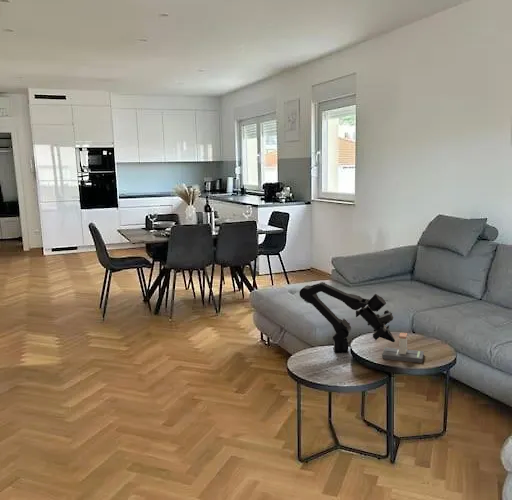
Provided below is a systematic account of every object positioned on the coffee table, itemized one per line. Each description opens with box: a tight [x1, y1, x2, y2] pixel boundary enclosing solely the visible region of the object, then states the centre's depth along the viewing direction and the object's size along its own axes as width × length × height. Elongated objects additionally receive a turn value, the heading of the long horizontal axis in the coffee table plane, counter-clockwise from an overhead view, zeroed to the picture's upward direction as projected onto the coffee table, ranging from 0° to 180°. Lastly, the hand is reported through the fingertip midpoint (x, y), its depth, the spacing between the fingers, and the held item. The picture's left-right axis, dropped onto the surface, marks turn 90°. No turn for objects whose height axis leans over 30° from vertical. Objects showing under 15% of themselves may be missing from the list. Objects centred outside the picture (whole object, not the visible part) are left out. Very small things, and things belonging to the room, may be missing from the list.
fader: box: [398, 332, 408, 354], centre depth 235 cm, size 3×5×9 cm, turn 158°
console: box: [381, 347, 425, 364], centre depth 236 cm, size 18×10×2 cm, turn 68°
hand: (394, 341), depth 236 cm, fingers closed
